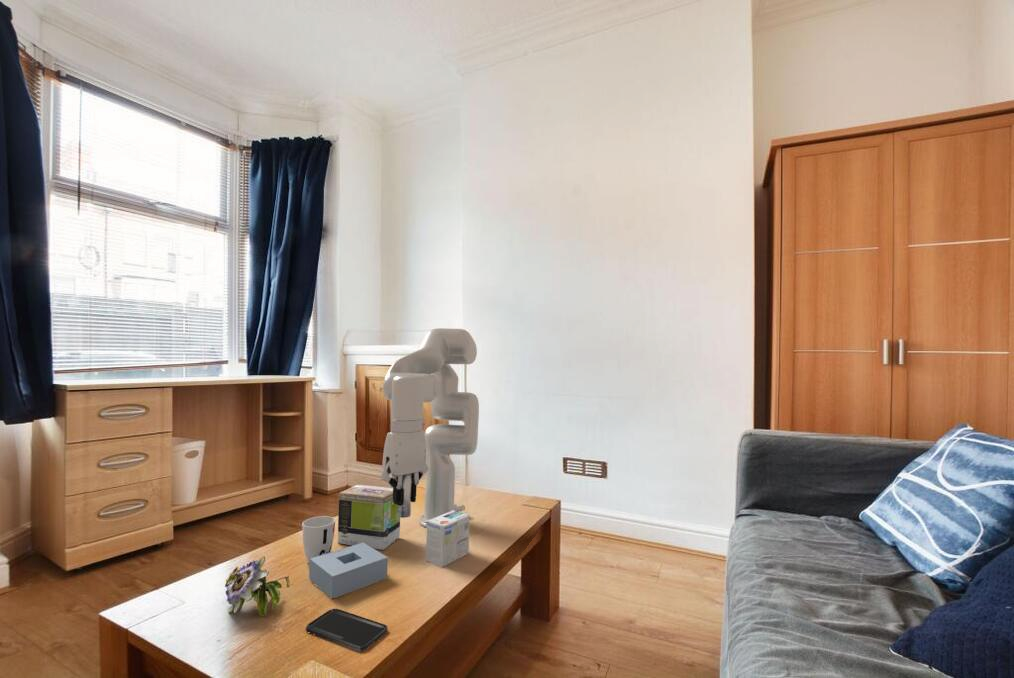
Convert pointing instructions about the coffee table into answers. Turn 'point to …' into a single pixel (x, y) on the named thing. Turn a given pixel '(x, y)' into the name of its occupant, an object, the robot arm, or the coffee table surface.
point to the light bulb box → (447, 538)
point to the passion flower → (252, 587)
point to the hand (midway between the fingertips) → (404, 501)
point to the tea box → (368, 516)
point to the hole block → (348, 569)
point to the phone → (347, 629)
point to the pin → (406, 497)
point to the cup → (318, 536)
